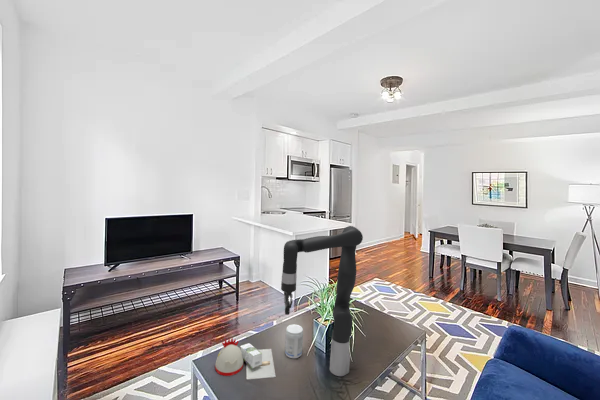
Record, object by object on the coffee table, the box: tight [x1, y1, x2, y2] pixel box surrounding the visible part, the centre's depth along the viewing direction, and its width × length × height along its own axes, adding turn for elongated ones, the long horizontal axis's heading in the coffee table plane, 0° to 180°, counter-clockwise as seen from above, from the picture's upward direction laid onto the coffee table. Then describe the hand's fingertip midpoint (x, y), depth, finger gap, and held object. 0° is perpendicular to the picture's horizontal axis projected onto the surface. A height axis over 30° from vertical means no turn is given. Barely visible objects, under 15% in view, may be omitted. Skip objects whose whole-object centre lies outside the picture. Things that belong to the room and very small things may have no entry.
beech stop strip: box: [259, 361, 270, 366], centre depth 140 cm, size 10×2×1 cm, turn 102°
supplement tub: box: [284, 323, 304, 359], centre depth 151 cm, size 10×10×15 cm
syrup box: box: [239, 343, 262, 368], centre depth 141 cm, size 6×6×14 cm
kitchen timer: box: [214, 337, 244, 377], centre depth 138 cm, size 14×14×15 cm
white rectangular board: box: [245, 348, 277, 381], centre depth 141 cm, size 14×22×1 cm, turn 12°
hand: (287, 313), depth 137 cm, fingers closed
